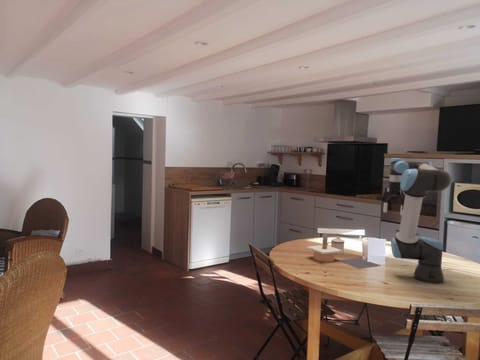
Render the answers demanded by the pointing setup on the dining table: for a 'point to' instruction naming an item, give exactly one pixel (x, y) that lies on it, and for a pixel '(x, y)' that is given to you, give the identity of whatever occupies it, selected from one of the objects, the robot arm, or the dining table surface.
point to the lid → (324, 247)
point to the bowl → (324, 257)
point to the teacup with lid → (337, 244)
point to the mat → (359, 263)
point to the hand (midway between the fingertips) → (393, 213)
